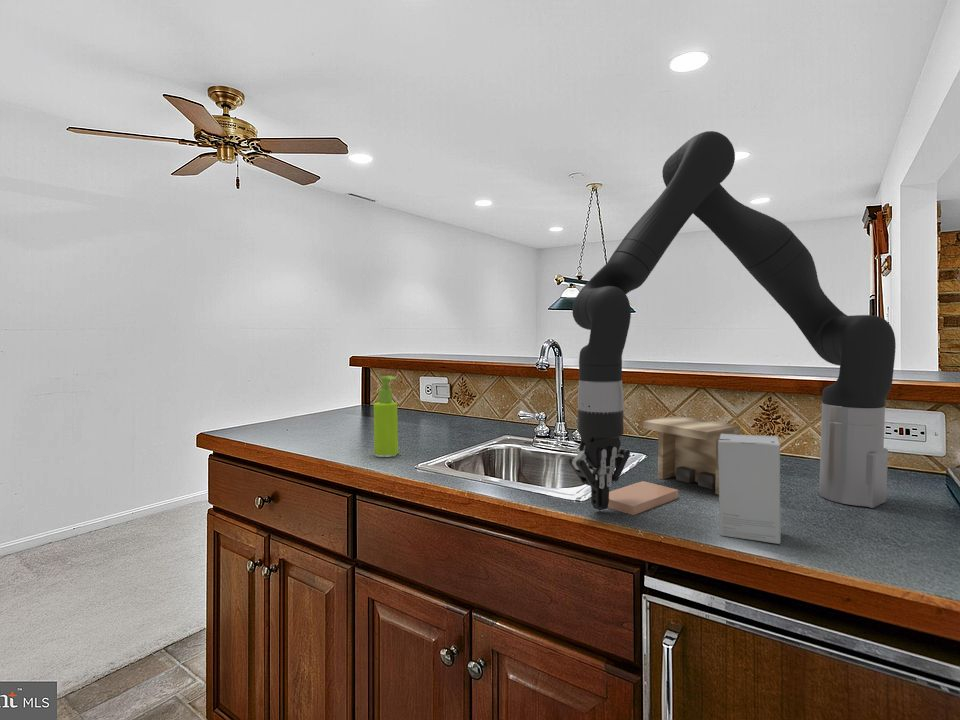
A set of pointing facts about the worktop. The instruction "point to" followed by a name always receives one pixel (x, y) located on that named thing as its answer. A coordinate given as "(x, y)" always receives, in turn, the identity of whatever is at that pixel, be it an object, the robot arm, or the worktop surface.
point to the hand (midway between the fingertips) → (600, 508)
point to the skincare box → (749, 487)
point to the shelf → (689, 448)
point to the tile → (640, 497)
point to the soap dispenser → (385, 420)
